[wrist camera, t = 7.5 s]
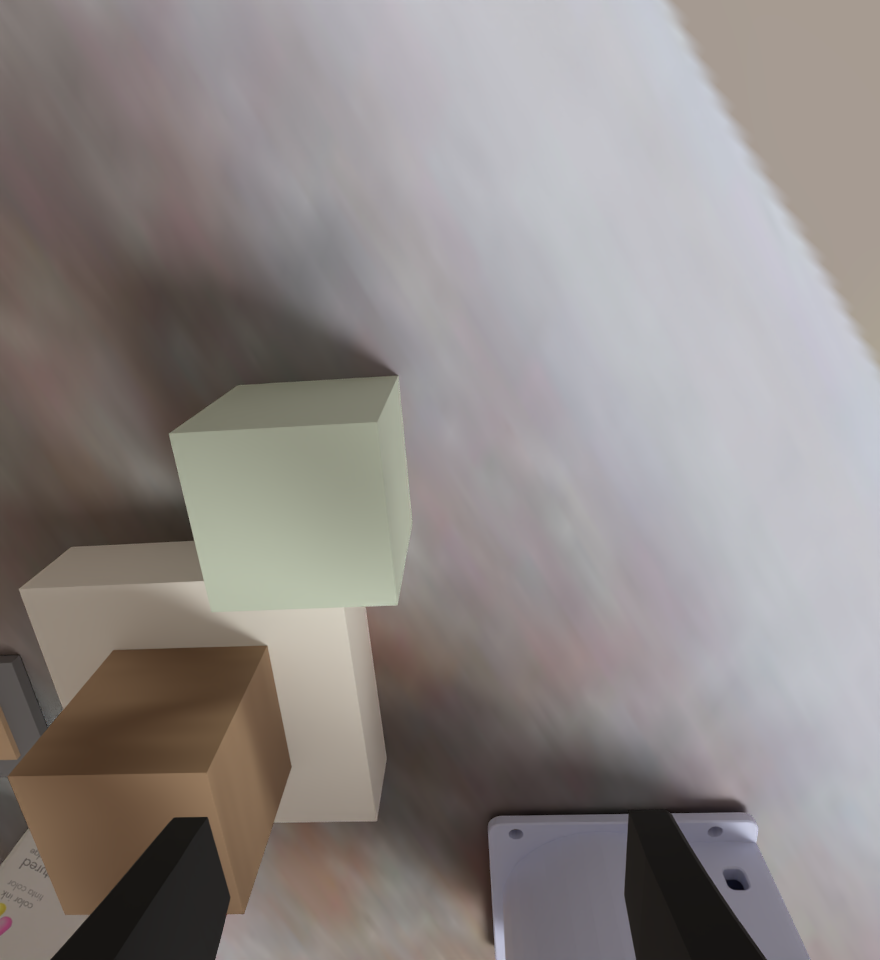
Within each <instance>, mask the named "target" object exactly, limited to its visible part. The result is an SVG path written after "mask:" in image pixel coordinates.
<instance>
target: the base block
mask: <svg viewBox="0 0 880 960" xmlns="http://www.w3.org/2000/svg"><path fill="white" fill-rule="evenodd" d="M19 592H20V594H21V597H22V600H23V603H24V605H25V608H26V611H27V613H28V616H29V619H30V621H31V624H32V627H33V629H34V632H35V635H36V638H37V640H38V643H39V646H40V648H41V651H42V654H43V656H44V659H45V662H46V664H47V667H48V670H49V673H50V675H51V678H52V681H53V683H54V686H55V689H56V691H57V694H58V697H59V699H60V702H61V705H62V708H63V710H64V708H65V707H66V706H67V705H68V704H69V702H70V701H71V700H72V699H73V698H74V696H75V695H76V694H77V693H78V692H79V690H80V689H81V688H82V687H83V686H84V685H85V683H86V682H87V681H88V680H89V679H90V677H91V676H92V675H93V674H94V673H95V671H96V670H97V669H98V668H99V667H100V665H101V664H102V663H103V662H104V661H105V659H106V658H107V657H108V656H109V655H110V653H111V652H112V651H113V650H132V649H164V648H195V647H231V646H268V651H269V656H270V661H271V666H272V671H273V676H274V681H275V686H276V691H277V696H278V701H279V706H280V711H281V716H282V721H283V726H284V731H285V736H286V741H287V746H288V751H289V756H290V761H291V766H292V768H291V771H290V774H289V777H288V780H287V783H286V786H285V789H284V792H283V795H282V799H281V802H280V805H279V808H278V811H277V814H276V817H275V820H274V823H296V822H363V821H377V818H378V811H379V805H380V799H381V792H382V786H383V780H384V774H385V767H386V761H387V756H386V749H385V742H384V735H383V728H382V721H381V713H380V706H379V699H378V692H377V685H376V678H375V671H374V664H373V656H372V649H371V642H370V635H369V628H368V621H367V614H366V607H339V608H312V609H286V610H259V611H232V612H211V608H210V604H209V600H208V596H207V592H206V587H205V583H204V579H203V575H202V571H201V566H200V562H199V558H198V554H197V550H196V546H195V541H180V542H160V543H140V544H120V545H100V546H80V547H71V548H69V549H68V550H67V551H66V552H64V553H63V554H62V555H61V556H59V557H58V558H57V559H56V560H54V561H53V562H52V563H51V564H49V565H48V566H47V567H46V568H44V569H43V570H42V571H41V572H39V573H38V574H37V575H36V576H34V577H33V578H32V579H31V580H29V581H28V582H27V583H26V584H24V585H23V586H22V587H21V588H19Z"/></svg>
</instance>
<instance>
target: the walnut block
mask: <svg viewBox="0 0 880 960" xmlns="http://www.w3.org/2000/svg"><path fill="white" fill-rule="evenodd" d="M291 768H292V766H291V761H290V756H289V751H288V746H287V741H286V736H285V731H284V726H283V721H282V716H281V711H280V706H279V701H278V696H277V691H276V686H275V681H274V676H273V671H272V666H271V661H270V656H269V651H268V646H231V647H195V648H164V649H132V650H113V651H112V652H111V653H110V655H109V656H108V657H107V658H106V659H105V661H104V662H103V663H102V664H101V665H100V667H99V668H98V669H97V670H96V671H95V673H94V674H93V675H92V676H91V677H90V679H89V680H88V681H87V682H86V683H85V685H84V686H83V687H82V688H81V689H80V690H79V692H78V693H77V694H76V695H75V696H74V698H73V699H72V700H71V701H70V702H69V704H68V705H67V706H66V707H65V708H64V710H63V711H62V712H61V713H60V714H59V716H58V717H57V718H56V719H55V720H54V722H53V723H52V724H51V725H50V726H49V727H48V729H47V730H46V731H45V732H44V733H43V735H42V736H41V737H40V738H39V739H38V741H37V742H36V743H35V744H34V745H33V747H32V748H31V749H30V750H29V751H28V753H27V754H26V755H25V756H24V757H23V758H22V760H21V761H20V762H19V763H18V764H17V766H16V767H15V768H14V769H13V770H12V772H11V773H10V774H9V775H8V776H7V777H8V779H9V782H10V784H11V787H12V789H13V791H14V794H15V796H16V799H17V801H18V803H19V806H20V808H21V810H22V813H23V815H24V818H25V820H26V822H27V825H28V827H29V830H30V832H31V834H32V837H33V839H34V842H35V844H36V846H37V849H38V851H39V854H40V856H41V858H42V861H43V863H44V866H45V868H46V870H47V873H48V875H49V878H50V880H51V882H52V885H53V887H54V890H55V892H56V894H57V897H58V899H59V902H60V904H61V906H62V909H63V911H64V914H65V915H90V914H91V913H92V912H93V911H94V910H95V909H96V908H97V906H98V905H99V904H100V903H101V902H102V901H103V900H104V898H105V897H106V896H107V895H108V894H109V892H110V891H111V890H112V889H113V888H114V887H115V885H116V884H117V883H118V882H119V881H120V880H121V878H122V877H123V876H124V875H125V874H126V873H127V871H128V870H129V869H130V868H131V867H132V865H133V864H134V863H135V862H136V861H137V860H138V858H139V857H140V856H141V855H142V854H143V852H144V851H145V850H146V849H147V848H148V847H149V845H150V844H151V843H152V842H153V841H154V839H155V838H156V837H157V836H158V835H159V834H160V832H161V831H162V830H163V829H164V828H165V827H166V825H167V824H168V823H169V822H170V821H171V820H172V819H173V818H174V817H208V819H209V823H210V826H211V830H212V833H213V837H214V841H215V844H216V848H217V851H218V855H219V858H220V862H221V865H222V869H223V872H224V876H225V879H226V883H227V886H228V890H229V893H230V897H231V898H230V902H229V906H228V910H227V914H244V913H245V910H246V907H247V903H248V900H249V897H250V894H251V891H252V888H253V885H254V882H255V879H256V876H257V873H258V869H259V866H260V863H261V860H262V857H263V854H264V851H265V848H266V845H267V842H268V839H269V836H270V832H271V829H272V826H273V823H274V820H275V817H276V814H277V811H278V808H279V805H280V802H281V799H282V795H283V792H284V789H285V786H286V783H287V780H288V777H289V774H290V771H291Z"/></svg>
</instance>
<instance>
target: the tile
mask: <svg viewBox="0 0 880 960" xmlns="http://www.w3.org/2000/svg"><path fill="white" fill-rule="evenodd" d="M47 729H48V728H47V726H46V723H45V720H44V718H43V715H42V712H41V710H40V707H39V705H38V702H37V699H36V697H35V694H34V692H33V689H32V686H31V684H30V681H29V679H28V676H27V673H26V671H25V668H24V666H23V663H22V660H21V658H20V655H9V656H0V777H7V776H8V775H9V774H10V773H11V772H12V770H13V769H14V768H15V767H16V766H17V764H18V763H19V762H20V761H21V760H22V758H23V757H24V756H25V755H26V754H27V753H28V751H29V750H30V749H31V748H32V747H33V745H34V744H35V743H36V742H37V741H38V739H39V738H40V737H41V736H42V735H43V733H44V732H45V731H46V730H47Z"/></svg>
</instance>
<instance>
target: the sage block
mask: <svg viewBox="0 0 880 960" xmlns="http://www.w3.org/2000/svg"><path fill="white" fill-rule="evenodd" d="M169 437H170V441H171V445H172V450H173V454H174V458H175V462H176V466H177V470H178V475H179V479H180V483H181V487H182V491H183V495H184V500H185V504H186V508H187V512H188V516H189V521H190V525H191V529H192V533H193V537H194V541H195V546H196V550H197V554H198V558H199V562H200V566H201V571H202V575H203V579H204V583H205V587H206V592H207V596H208V600H209V604H210V608H211V612H232V611H259V610H286V609H312V608H339V607H366V606H393V605H398V600H399V594H400V589H401V583H402V578H403V572H404V567H405V561H406V556H407V550H408V545H409V539H410V534H411V528H412V514H411V503H410V492H409V482H408V471H407V461H406V450H405V440H404V429H403V419H402V408H401V398H400V387H399V376H381V377H365V378H348V379H331V380H314V381H298V382H281V383H264V384H248V385H237V386H236V387H235V388H233V389H232V390H230V391H229V392H227V393H226V394H225V395H223V396H222V397H220V398H219V399H217V400H216V401H215V402H213V403H212V404H210V405H209V406H207V407H206V408H205V409H203V410H202V411H200V412H199V413H197V414H196V415H195V416H193V417H192V418H190V419H189V420H187V421H186V422H185V423H183V424H182V425H180V426H179V427H177V428H176V429H175V430H173V431H172V432H170V433H169Z"/></svg>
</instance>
